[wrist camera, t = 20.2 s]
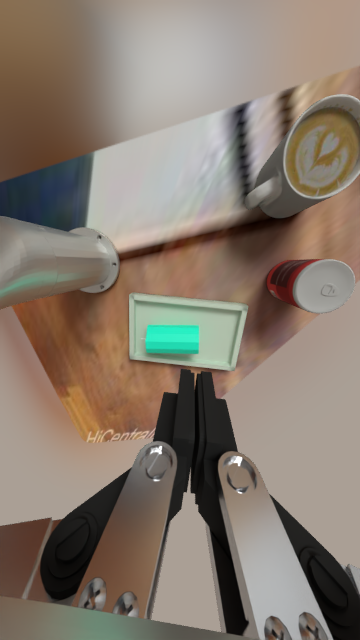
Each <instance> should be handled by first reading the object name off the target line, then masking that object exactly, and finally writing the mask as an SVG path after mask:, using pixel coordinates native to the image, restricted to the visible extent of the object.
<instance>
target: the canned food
mask: <svg viewBox="0 0 360 640" xmlns="http://www.w3.org/2000/svg"><path fill="white" fill-rule="evenodd" d="M267 287H268V290H269V292H270V293H271V294H272V295H273V296H274V297H276V298H278V299H280V300H282V301H284V302H287V303H289V304H291V305H293V306H296V307H298V308H300V309H303V310H305V311H308V312H311V313H321V314H322V313H327V312H331V311H333V310H335V309H337V308H339V307H341V306H342V305H343V304H344V303H345V302H346V301H347V300H348V299H349V298H350V296H351V294H352V292H353V290H354V287H355V276H354V273H353V271H352V269H351V268H350V267H349V266H348V265H347V264H345V263H344V262H341V261H338V260H332V259H311V260H287V261H284V262H281V263H279V264H278V265H276V266H275V267H274V268H273V269H272V270H271V271H270V273H269V275H268V277H267Z"/></svg>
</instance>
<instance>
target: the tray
mask: <svg viewBox="0 0 360 640" xmlns="http://www.w3.org/2000/svg"><path fill="white" fill-rule="evenodd" d="M247 311H248V306H247V305H246V304H244V303H234V302H224V301H214V300H204V299H194V298H184V297H174V296H164V295H154V294H144V293H131V294H129V338H130V359H135V360H143V361H152V362H161V363H169V364H178V365H187V366H195V367H204V368H213V369H221V370H230V371H235V366H236V361H237V357H238V352H239V347H240V343H241V338H242V334H243V329H244V324H245V320H246V315H247ZM148 325H199V354H172V353H147V352H146V345H145V340H146V333H147V326H148ZM141 338H145V339H141Z"/></svg>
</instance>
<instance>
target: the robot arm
mask: <svg viewBox="0 0 360 640" xmlns="http://www.w3.org/2000/svg"><path fill="white" fill-rule="evenodd" d="M101 237H102V239H101ZM115 263H116V265H115ZM119 270H120V262H119V256H118V253H117V251H116V249H115V247H114V245H113V244H112V242H111V241H110V240H109V239H108V238H107V237H106V236H105V235H103V234H102V233H100V232H98V231H96V230H94V229H90V228H76V229H73V230H71V231H69V232H66V231H62V230H58V229H53V228H49V227H45V226H41V225H37V224H32V223H28V222H24V221H20V220H17V219H12V218H8V217H2V216H0V309H3V308H6V307H9V306H12V305H16V304H20V303H24V302H27V301H32V300H36V299H40V298H44V297H49V296H53V295H57V294H61V293H65V292H70V291H74V290H78V289H79V290H81V291H84V292H88V293H98V292H102V291H105V290H107V289H108V288H110V287H111V286H112V285H113V284H114V283H115V281H116V280H117V277H118V275H119ZM103 286H104V287H103ZM190 468H191V493H194V494H195V504H198V511H199V513H200V514H201V516H202V517H203V519H204V520H205V522H206V533H207V539H208V546H209V553H210V559H211V566H212V573H213V579H214V586H215V593H216V600H217V606H218V613H219V620H220V627H221V632H216V631H210V630H205V629H199V628H193V627H188V626H182V625H176V624H170V623H164V622H159V621H154V620H151V618H152V613H153V608H154V603H155V598H156V593H157V587H158V582H159V577H160V572H161V567H162V562H163V557H164V552H165V547H166V542H167V537H168V532H169V526H170V521H171V520H172V518H173V517H174V516H175V515H176V514H177V513H178V512H179V510H181V506H182V500H183V493H184V492H187V487H188V481H189V474H190ZM0 640H360V569H359V568H357V567H355V566H352V565H350V564H348V565H347V567H346V566H343V565H341V564H339V563H338V562H337V561H336V559H335V558H334V557H333V556H332V555H331V554H330V553H329V552H328V551H327V550H326V549H325V548H324V547H323V546H322V545H321V544H320V543H319V542H318V541H317V540H316V539H315V538H314V537H313V536H312V535H311V534H310V533H309V532H308V531H307V530H306V529H305V528H304V527H303V526H302V525H301V524H299V522H298V521H297V520H296V519H295V518H293V517H292V516H291V515H290V514H289V513H288V512H287V511H286V510H285V509H284V508H283V507H282V506H281V505H280V504H279V503H278V502H277V501H276V500H275V499H274V498H273V497H272V496H271V495H270V494H269V492H268V490H267V488H266V486H265V483H264V481H263V479H262V477H261V474H260V472H259V471H258V469H257V467H256V466H255V464H254V463H253V462H252V461H251V460H250V459H249V458H248V457H246V456H245V455H244V454H241V453H239V452H238V451H237V446H236V442H235V438H234V434H233V429H232V425H231V420H230V416H229V412H228V408H227V404H226V400H225V399H217V398H216V397H215V391H214V385H213V379H212V373H211V372H204V371H201V374H198V373H197V378H196V385H195V388H194V373H191V370H187V369H181V374H180V383H179V391H178V394H176V393H168V392H164V394H163V399H162V403H161V408H160V412H159V416H158V421H157V425H156V430H155V434H154V439H153V442H151V443H149V444H147V445H145V446H144V447H143V448H142V449H141V450H140V452H139V453H138V455H137V457H136V459H135V461H134V464H133V466H132V467H131V468H130V469H129V470H128V471H126V472H125V473H123V474H122V475H121V476H119V477H118V478H117V479H115V480H114V481H113V482H111V483H110V484H108V485H107V486H106V487H104V488H103V489H102V490H100V491H99V492H98V493H96V494H95V495H94V496H92V497H91V498H89V499H88V500H87V501H85V502H84V503H83V504H81V505H80V506H79V507H77V508H76V509H75V510H73V511H72V512H71V513H69V514H68V515H67V516H66V517H65V518H64V519H59V520H53V521H52V518H45V519H39V520H33V521H27V522H21V523H15V524H10V525H3V526H0Z"/></svg>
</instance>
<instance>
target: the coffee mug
mask: <svg viewBox="0 0 360 640" xmlns="http://www.w3.org/2000/svg"><path fill="white" fill-rule="evenodd" d="M359 174H360V100H359V99H357V98H355V97H353V96H350V95H344V94H338V95H332V96H328V97H325V98H323V99H321V100H319V101H317V102H316V103H314V104H313V105H311V106H310V107H309V108H308V109H307V110H306V111H305V112H304V113H303V114H302V115H301V116H300V117H299V118H298V119H297V121H296V122H295V123H294V125H293V126H292V127H291V129H290V130H289V132H288V133H287V134H286V136H285V137H284V138H283V140H282V141H281V143H280V144H279V145H278V147H277V148H276V149H275V151H274V152H273V154H272V155H271V156H270V158H269V159H268V160H267V162H266V163H265V164H264V166H263V167H262V169H261V171H260V173H259V175H258V178H257V181H256V187H255V189H254V190H253V191H252V192H250V193H249V194H248V195H247V197H246V198H245V206H246V208H247V209H248V210H251V209H253V208H255V207H257V206H259V207H260V208H261V210H262V211H263V212H264V213H266V214H267V215H269V216H271V217H274V218H285V217H289V216H292V215H294V214H296V213H298V212H300V211H302V210H304V209H307V208H309V207H311V206H313V205H315V204H317V203H319V202H321V201H323V200H326V199H328V198H330V197H332V196H334V195H336V194H337V193H339V192H341V191H342V190H344V189H345V188H346V187H347V186H349V185H350V184H351V183H352V182H353V181H354V180H355V179H356V177H357V176H358V175H359Z"/></svg>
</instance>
